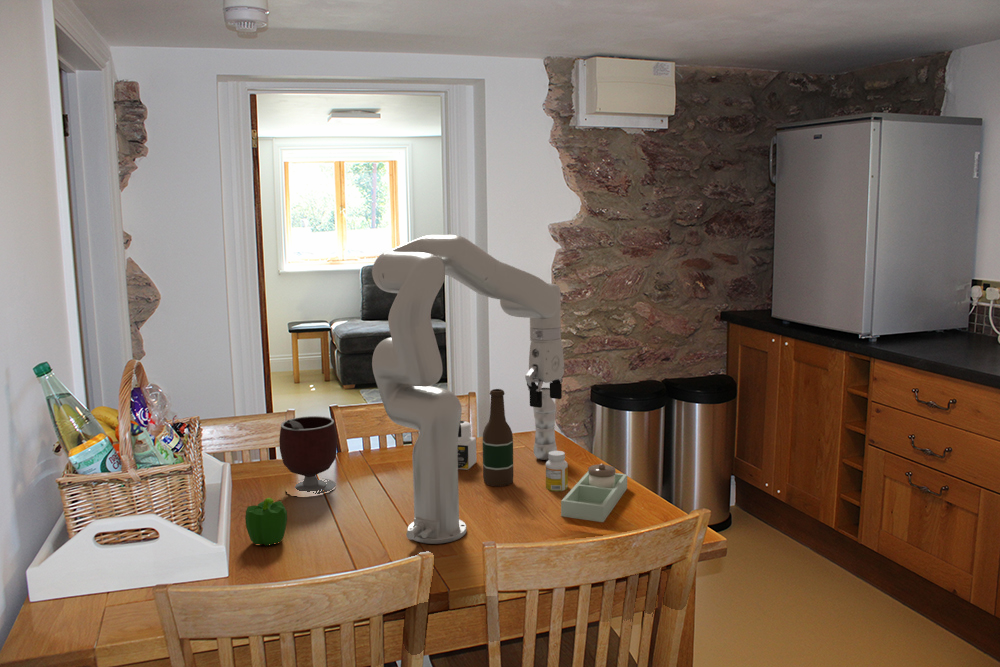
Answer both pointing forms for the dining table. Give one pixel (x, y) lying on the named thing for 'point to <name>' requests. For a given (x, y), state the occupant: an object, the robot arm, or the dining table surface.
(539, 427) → the plastic bottle
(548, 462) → the supplement bottle
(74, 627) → the dining table surface
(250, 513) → the bell pepper
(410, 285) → the robot arm
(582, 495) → the caddy
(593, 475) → the jar
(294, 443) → the mate gourd
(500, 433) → the beer bottle
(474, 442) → the medicine bottle
